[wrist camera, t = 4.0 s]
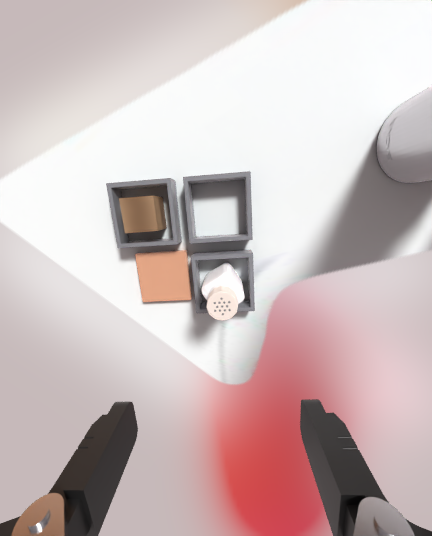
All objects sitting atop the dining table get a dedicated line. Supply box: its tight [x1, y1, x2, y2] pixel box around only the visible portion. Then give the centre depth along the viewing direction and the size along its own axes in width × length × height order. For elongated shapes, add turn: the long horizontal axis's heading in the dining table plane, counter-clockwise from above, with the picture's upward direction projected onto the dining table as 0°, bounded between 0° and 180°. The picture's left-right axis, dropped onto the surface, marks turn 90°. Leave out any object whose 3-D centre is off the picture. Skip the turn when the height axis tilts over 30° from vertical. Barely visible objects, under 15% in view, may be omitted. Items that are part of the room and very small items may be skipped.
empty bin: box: [183, 172, 252, 243], centre depth 28 cm, size 8×8×2 cm
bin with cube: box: [106, 178, 182, 248], centre depth 29 cm, size 8×8×2 cm
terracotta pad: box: [135, 250, 192, 302], centre depth 32 cm, size 7×7×1 cm
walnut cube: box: [119, 196, 166, 233], centre depth 28 cm, size 4×4×4 cm
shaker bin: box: [191, 250, 255, 313], centre depth 31 cm, size 8×8×2 cm
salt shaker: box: [201, 262, 245, 321], centre depth 27 cm, size 4×4×10 cm
